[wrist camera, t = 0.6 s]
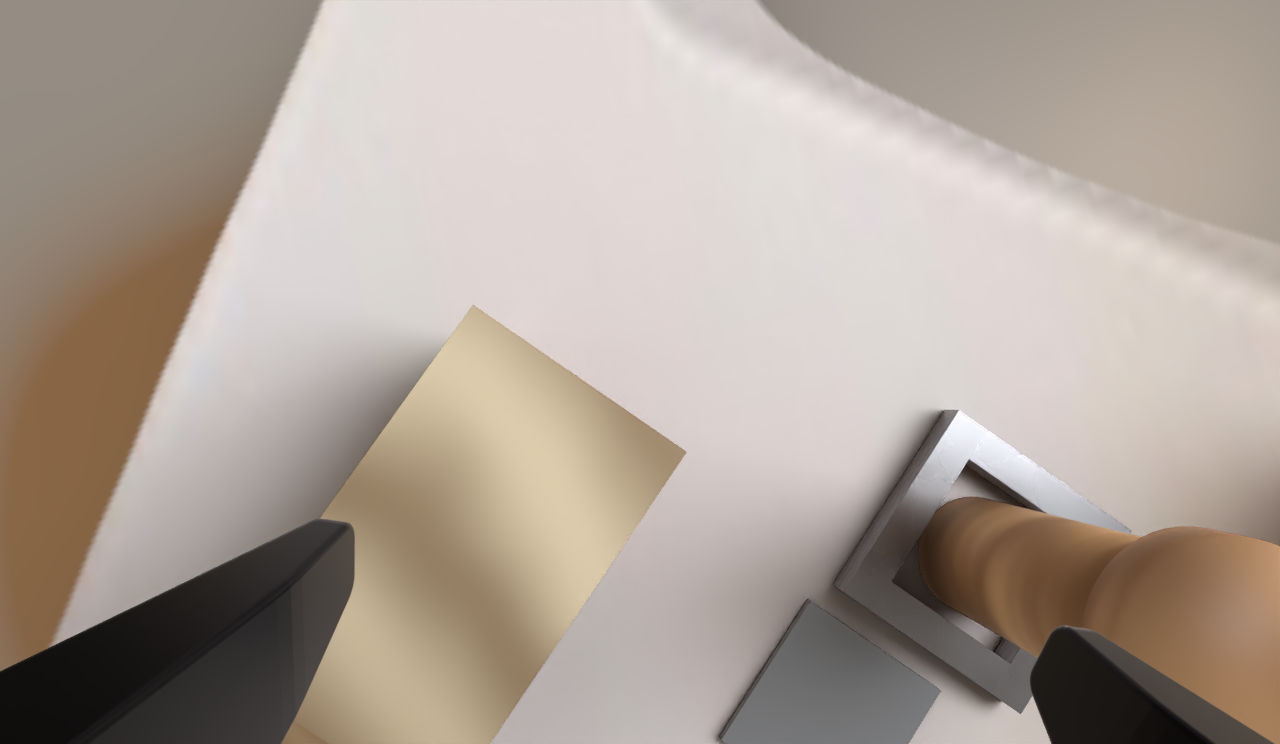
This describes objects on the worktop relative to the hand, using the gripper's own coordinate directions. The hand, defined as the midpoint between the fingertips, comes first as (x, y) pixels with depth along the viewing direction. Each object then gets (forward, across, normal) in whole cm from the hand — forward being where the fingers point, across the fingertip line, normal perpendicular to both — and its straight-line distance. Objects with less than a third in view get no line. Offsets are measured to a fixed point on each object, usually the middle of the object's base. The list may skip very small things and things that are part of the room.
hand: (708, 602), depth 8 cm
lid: (+8, +5, +7) cm, 12 cm away
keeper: (+14, -13, +8) cm, 21 cm away
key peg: (+14, -13, +8) cm, 21 cm away
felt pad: (+11, -9, +14) cm, 20 cm away
